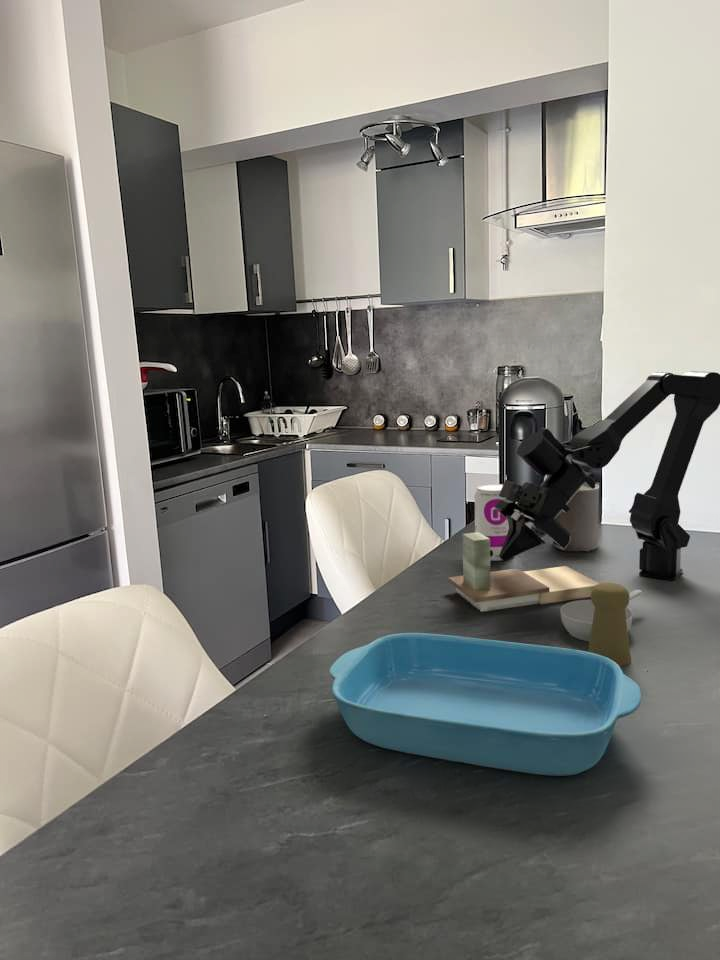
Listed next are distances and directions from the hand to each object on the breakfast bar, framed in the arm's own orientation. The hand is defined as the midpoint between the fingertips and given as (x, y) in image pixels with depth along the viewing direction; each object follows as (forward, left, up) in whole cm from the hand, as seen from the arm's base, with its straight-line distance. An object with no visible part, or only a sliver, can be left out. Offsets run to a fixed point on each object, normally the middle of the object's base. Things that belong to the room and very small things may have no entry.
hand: (501, 558), depth 133 cm
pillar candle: (0, -37, -7) cm, 38 cm away
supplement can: (+12, -22, -7) cm, 27 cm away
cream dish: (+1, +1, -7) cm, 7 cm away
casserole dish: (-18, +43, -8) cm, 47 cm away
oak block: (-6, -8, -7) cm, 13 cm away
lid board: (+1, +1, -5) cm, 5 cm away
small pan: (-21, +4, -7) cm, 22 cm away
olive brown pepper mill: (-25, +16, -7) cm, 30 cm away
